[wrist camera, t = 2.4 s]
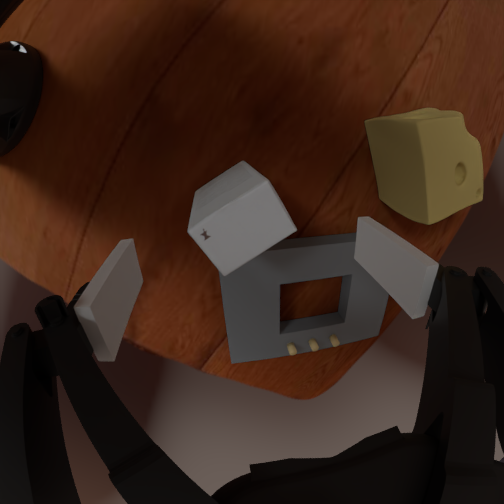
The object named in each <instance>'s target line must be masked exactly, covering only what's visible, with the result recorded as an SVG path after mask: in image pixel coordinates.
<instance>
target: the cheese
mask: <svg viewBox="0 0 504 504" xmlns="http://www.w3.org/2000/svg"><path fill="white" fill-rule="evenodd" d="M364 123H365V127H366V132H367V136H368V141H369V146H370V151H371V156H372V161H373V165H374V170H375V175H376V180H377V186H378V193H379V199H380V200H382V201H383V202H384V203H385V204H386V205H388V206H389V207H390V208H392V209H393V210H395V211H396V212H398V213H400V214H401V215H403V216H405V217H407V218H409V219H411V220H413V221H415V222H419V223H423V224H427V225H431V224H433V223H436V222H438V221H440V220H443V219H444V218H446V217H448V216H450V215H452V214H454V213H455V212H457V211H459V210H461V209H463V208H465V207H467V206H470V205H472V204H475V203H478V202H480V201H482V199H483V164H482V154H481V148H480V144H479V142H478V140H477V139H476V138H475V137H473V136H472V135H470V134H469V133H468V131H467V130H466V128H465V124H464V117H463V115H462V114H461V113H460V112H457V111H439V110H438V109H435V108H423V109H419V110H415V111H412V112H408V113H403V114H397V115H391V116H384V117H377V118H373V119H369V120H365V122H364Z"/></svg>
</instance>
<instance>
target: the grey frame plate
mask: <svg viewBox="0 0 504 504" xmlns="http://www.w3.org/2000/svg"><path fill="white" fill-rule="evenodd" d="M356 234H357V233H347V234H337V235H326V236H316V237H305V238H295V239H285V240H281V241H280V242H278V243H276V244H275V245H273V246H272V247H270V248H269V249H267V250H266V251H264V252H262V253H261V254H259V255H258V256H256V257H255V258H253V259H252V260H250V261H249V262H247V263H245V264H244V265H242V266H241V267H239V268H237V269H236V270H234V271H233V272H231V273H229V274H228V275H226V276H223V275H222V274H221V272H220V271H219V276H220V284H221V292H222V300H223V307H224V315H225V322H226V329H227V336H228V343H229V350H230V356H231V363H240V362H248V361H255V360H262V359H269V358H276V357H282V356H288V355H295V354H299V353H304V352H310V351H317V350H320V349H324V348H329V347H337V346H338V345H343V344H347V343H351V342H355V341H359V340H363V339H367V338H371V337H375V336H378V334H379V331H380V327H381V324H382V320H383V316H384V313H385V309H386V305H387V301H388V297H389V293H388V292H387V291H386V290H385V289H384V288H383V287H382V286H381V285H380V284H379V283H378V282H377V281H376V280H375V279H374V278H373V277H372V276H371V275H370V274H369V273H368V272H367V271H366V270H365V269H364V268H363V267H362V266H361V265H360V264H359V263H358V262H357V261H356V260H355V259H354V254H355V245H356ZM337 276H343V277H342V285H341V293H340V300H339V307H338V312H335V313H329V314H324V315H318V316H312V317H306V318H300V319H294V320H288V321H281V322H280V284H287V283H295V282H302V281H309V280H316V279H323V278H330V277H337Z"/></svg>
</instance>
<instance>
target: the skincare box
mask: <svg viewBox="0 0 504 504" xmlns="http://www.w3.org/2000/svg"><path fill="white" fill-rule="evenodd" d="M296 231H297V228H296V226H295V224H294V223H293V221H292V219H291V217H290V215H289V213H288V212H287V210H286V208H285V206H284V205H283V203H282V201H281V199H280V198H279V196H278V194H277V192H276V191H275V189H274V187H273V186H272V184H271V183H270V181H269V180H268V179H267V178H266V177H264V176H263V175H262V174H260V173H259V172H258V171H256V170H255V169H254V168H253V167H251V166H250V165H249V164H248V163H246V162H245V161H241V162H239V163H238V164H236V165H234V166H233V167H231V168H230V169H228V170H227V171H225V172H224V173H222V174H220V175H219V176H217V177H216V178H214V179H213V180H211V181H210V182H208V183H207V184H205V185H204V186H202V187H201V188H200V189H198V190H197V191H195V195H194V200H193V205H192V210H191V215H190V220H189V225H188V233H189V234H190V236H191V237H192V238H193V239H194V241H195V242H196V243H197V244H198V245H199V247H200V248H201V249H202V250H203V252H204V253H205V254H206V255H207V256H208V258H209V259H210V260H211V261H212V263H213V264H214V265H215V266H216V267H217V269H218V270H219V271H220V272H221V274H222V275H223V276H226V275H228V274H229V273H231V272H233V271H234V270H236V269H237V268H239V267H241V266H242V265H244V264H245V263H247V262H249V261H250V260H252V259H253V258H255V257H256V256H258V255H259V254H261V253H262V252H264V251H266V250H267V249H269V248H270V247H272V246H273V245H275V244H276V243H278V242H280V241H281V240H283V239H284V238H286V237H287V236H289V235H291V234H292V233H294V232H296Z"/></svg>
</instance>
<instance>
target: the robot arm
mask: <svg viewBox="0 0 504 504" xmlns="http://www.w3.org/2000/svg"><path fill="white" fill-rule="evenodd" d="M23 1H24V0H0V28H1V26H2V25H3V24H4V23H5V21H6V20H7V19H8V18H9V17H10V15H11V14H12V13H13V12H14V11H15V10H16V9H17V7H18V6H19V5H20V4H21V3H22V2H23ZM42 82H43V69H42V63H41V59H40V56H39V54H38V53H37V51H36V50H35V49H34V48H33V47H32V46H30V45H28V44H25V43H22V42H18V41H8V42H3V43H0V156H3V155H5V154H6V153H8V152H9V151H11V150H12V149H13V148H14V147H15V146H16V145H17V144H18V143H19V141H20V140H21V139H22V137H23V136H24V134H25V133H26V131H27V130H28V128H29V126H30V124H31V122H32V120H33V117H34V115H35V112H36V109H37V106H38V103H39V99H40V95H41V90H42ZM354 259H355V260H356V261H357V262H358V263H359V264H360V265H361V266H362V267H363V268H364V269H365V270H366V271H367V272H368V273H369V274H370V275H371V276H372V277H373V278H374V279H375V280H376V281H377V282H378V283H379V284H380V285H381V286H382V287H383V288H384V289H385V290H386V291H387V292H388V293H389V294H390V296H391V297H392V298H393V299H394V300H395V301H396V302H397V303H398V304H399V305H400V306H401V307H402V308H403V309H404V310H405V312H406V313H407V314H408V315H409V316H410V317H411V318H412V319H415V318H419V317H422V316H424V314H425V312H426V308H427V306H428V305H429V306H430V307H431V308H432V311H431V314H430V317H429V320H428V323H427V326H426V329H427V328H428V327H429V338H428V349H427V358H426V367H425V374H424V381H423V387H422V393H421V399H420V404H419V409H418V413H417V418H416V422H415V426H414V429H413V432H412V433H400V431H399V429H398V427H397V426H395V427H393V428H390V429H387V430H385V431H382V432H380V433H377V434H374V435H372V436H369V437H366V438H364V439H363V440H361V441H360V442H358V443H357V444H355V445H353V446H352V447H350V448H348V449H347V450H345V451H343V452H341V453H340V454H338V455H336V456H334V457H330V458H304V459H303V458H302V459H301V458H296V459H295V458H289V459H284V460H278V461H272V462H266V463H258V464H251V465H250V471H251V473H248V474H246V475H242V476H240V477H238V478H236V479H234V480H232V481H230V482H228V483H227V484H225V485H224V486H222V487H221V488H220V489H218V490H217V491H216V492H215V493H214V494H213V495H212V496H209V495H208V494H207V493H206V492H205V491H203V490H202V489H201V488H200V487H199V486H198V485H197V484H196V483H195V482H194V481H192V480H191V479H190V478H189V477H188V476H187V475H186V474H185V473H184V472H183V471H182V470H181V469H180V468H179V467H178V466H177V465H176V464H175V463H174V462H173V461H172V460H171V459H170V458H169V457H168V456H167V455H166V454H165V452H164V451H163V450H162V449H161V448H160V447H159V446H158V445H156V444H155V443H154V442H153V441H152V439H151V438H150V437H149V436H148V435H147V434H146V432H145V431H144V430H143V429H142V427H141V426H140V425H139V424H138V422H137V421H136V420H135V419H134V417H133V416H132V415H131V414H130V412H129V411H128V410H127V408H126V407H125V406H124V404H123V403H122V402H121V400H120V399H119V397H118V396H117V394H116V393H115V392H114V390H113V389H112V387H111V386H110V384H109V383H108V381H107V380H106V378H105V377H104V375H103V374H102V372H101V370H100V369H99V367H98V366H97V364H96V362H95V361H94V359H93V357H92V353H93V351H94V353H95V355H96V357H97V359H98V360H99V361H114V360H115V357H116V354H117V351H118V348H119V345H120V342H121V339H122V336H123V334H124V331H125V328H126V325H127V322H128V320H129V317H130V314H131V311H132V309H133V306H134V303H135V301H136V298H137V296H138V293H139V291H140V288H141V286H142V283H143V279H142V275H141V271H140V267H139V263H138V258H137V254H136V250H135V245H134V241H133V239H125V240H120V242H119V243H118V244H117V246H116V247H115V248H114V250H113V251H112V252H111V254H110V255H109V256H108V258H107V259H106V260H105V262H104V263H103V265H102V266H101V267H100V269H99V270H98V271H97V273H96V274H95V276H94V277H93V279H92V280H91V282H87V283H86V284H84V285H83V286H82V287H81V288H80V289H79V290H78V292H77V293H76V295H75V296H74V297H73V299H72V300H71V302H70V303H69V305H68V307H67V308H66V305H65V303H64V300H63V298H62V297H61V296H59V295H53V296H49V297H47V298H45V299H43V300H41V301H40V302H39V303H38V304H37V305H36V307H35V312H36V314H37V317H38V319H39V321H40V323H41V325H42V327H43V329H42V330H39V331H34V332H32V331H31V329H30V327H29V325H28V324H27V323H19V324H17V325H14V326H13V327H11V328H10V330H9V331H8V332H7V335H6V338H5V342H4V347H3V352H2V356H1V362H0V504H81V502H80V499H79V496H78V493H77V489H76V486H75V483H74V479H73V476H72V472H71V468H70V464H69V460H68V456H67V451H66V447H65V442H64V436H63V431H62V424H61V418H60V411H59V402H58V392H57V380H56V376H58V375H59V376H60V378H61V381H62V383H63V386H64V388H65V390H66V393H67V395H68V397H69V399H70V402H71V404H72V406H73V408H74V410H75V412H76V414H77V416H78V418H79V420H80V422H81V424H82V426H83V428H84V429H85V431H86V433H87V435H88V437H89V439H90V440H91V442H92V444H93V445H94V447H95V449H96V450H97V452H98V454H99V455H100V457H101V459H102V460H103V462H104V463H105V465H106V466H107V468H108V470H109V471H110V473H109V474H108V475H109V478H110V479H111V481H112V483H113V485H114V486H115V488H116V489H117V490H118V492H119V493H120V494H121V495H122V497H123V498H124V500H125V501H126V502H127V503H128V504H504V457H503V458H502V459H501V460H500V461H496V460H494V452H495V438H496V437H495V436H496V429H497V433H498V438H499V441H500V444H501V448H502V451H503V453H504V284H503V282H502V281H501V279H500V278H499V277H498V276H497V274H496V273H495V272H494V271H492V270H491V269H490V268H487V267H478V268H477V269H476V273H475V276H468V275H467V273H466V272H465V271H464V270H462V269H460V268H458V267H454V266H447V267H445V268H444V267H443V266H441V265H440V264H439V263H437V262H436V261H435V260H433V259H431V258H430V257H429V256H428V255H426V254H425V253H423V252H422V251H421V250H419V249H417V248H416V247H414V246H413V245H411V244H410V243H409V242H407V241H406V240H404V239H403V238H401V237H400V236H398V235H397V234H395V233H394V232H392V231H391V230H389V229H387V228H386V227H384V226H383V225H381V224H380V223H378V222H376V221H375V220H373V219H372V218H370V217H358V223H357V234H356V245H355V254H354ZM487 305H488V306H487ZM486 307H487V311H486V314H485V310H486ZM484 379H485V380H484Z"/></svg>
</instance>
